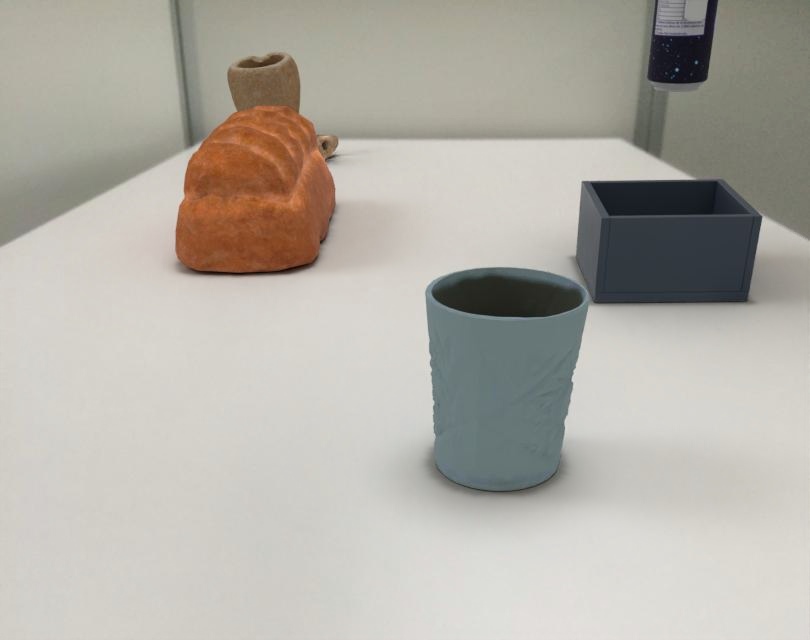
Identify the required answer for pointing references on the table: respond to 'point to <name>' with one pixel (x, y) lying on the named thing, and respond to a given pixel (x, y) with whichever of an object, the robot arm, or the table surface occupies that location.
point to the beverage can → (680, 47)
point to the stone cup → (271, 88)
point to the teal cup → (502, 372)
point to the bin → (666, 241)
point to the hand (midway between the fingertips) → (685, 17)
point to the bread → (255, 195)
